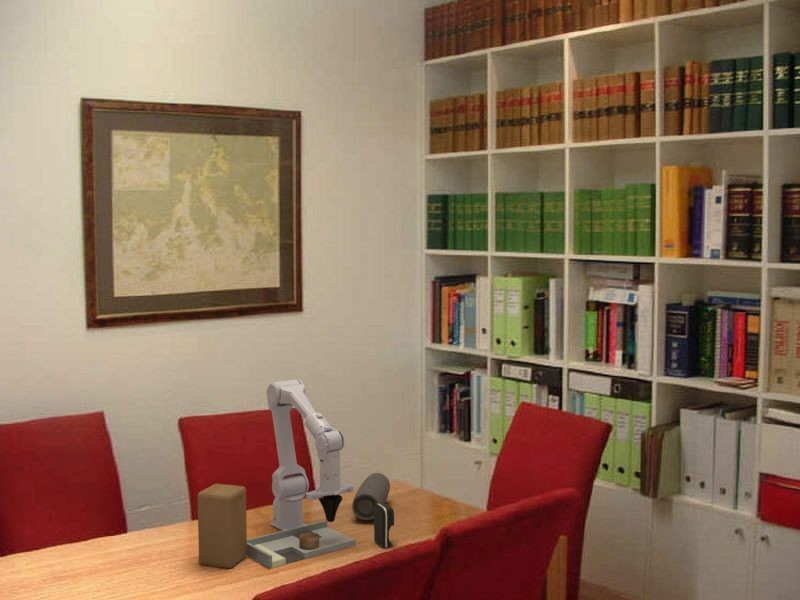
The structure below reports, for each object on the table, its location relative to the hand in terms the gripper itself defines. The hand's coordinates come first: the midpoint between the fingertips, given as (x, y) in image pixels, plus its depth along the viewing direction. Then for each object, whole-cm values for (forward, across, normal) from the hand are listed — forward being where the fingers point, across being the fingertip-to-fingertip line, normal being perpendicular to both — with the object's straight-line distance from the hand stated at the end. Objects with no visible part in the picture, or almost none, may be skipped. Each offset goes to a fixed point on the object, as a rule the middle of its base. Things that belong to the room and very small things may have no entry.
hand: (330, 520), depth 278 cm
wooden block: (+8, -29, +8) cm, 31 cm away
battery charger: (+8, +13, -8) cm, 17 cm away
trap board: (+7, -8, +3) cm, 11 cm away
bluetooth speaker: (+8, +26, +18) cm, 33 cm away
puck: (+6, -7, 0) cm, 9 cm away
